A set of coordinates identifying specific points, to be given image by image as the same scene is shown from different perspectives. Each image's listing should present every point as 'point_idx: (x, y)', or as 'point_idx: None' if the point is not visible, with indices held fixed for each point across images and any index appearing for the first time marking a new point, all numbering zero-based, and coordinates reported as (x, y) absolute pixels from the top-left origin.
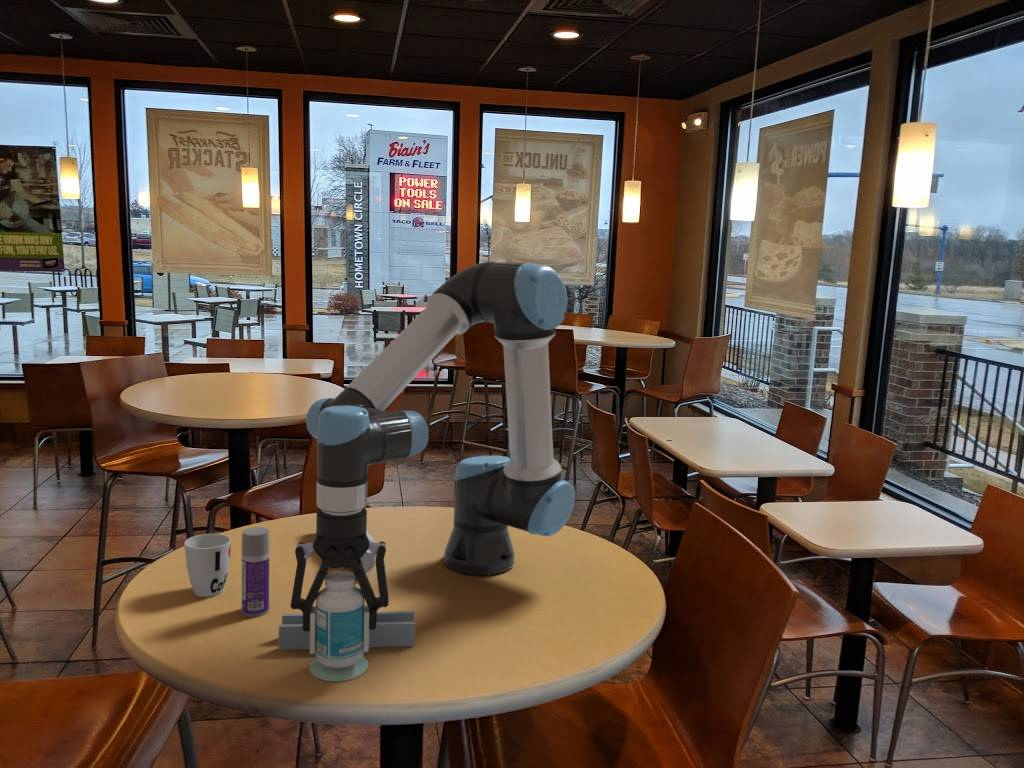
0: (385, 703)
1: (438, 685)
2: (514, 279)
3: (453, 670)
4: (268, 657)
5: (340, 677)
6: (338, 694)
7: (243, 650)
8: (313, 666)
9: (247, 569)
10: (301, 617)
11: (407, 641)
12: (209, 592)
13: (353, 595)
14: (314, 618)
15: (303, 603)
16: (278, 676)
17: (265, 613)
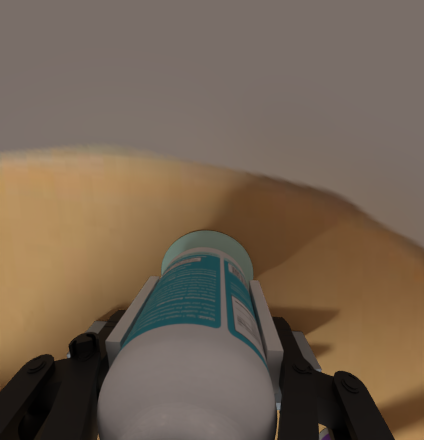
0: (126, 156)
1: (47, 204)
2: None
3: (28, 246)
4: (317, 312)
5: (202, 239)
6: (203, 192)
7: (356, 336)
8: (247, 276)
9: None
10: (277, 398)
11: (101, 327)
12: None
13: (121, 407)
14: (266, 337)
15: (318, 394)
16: (301, 256)
17: (322, 431)
